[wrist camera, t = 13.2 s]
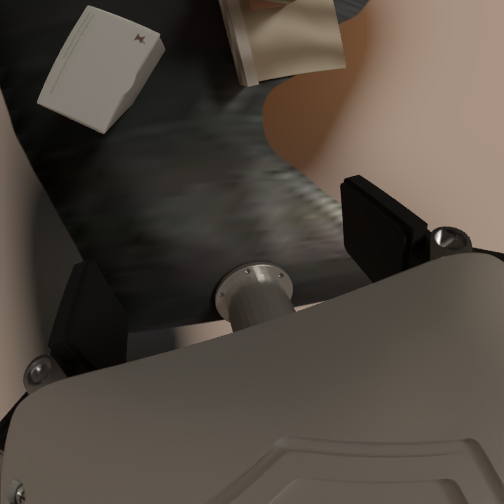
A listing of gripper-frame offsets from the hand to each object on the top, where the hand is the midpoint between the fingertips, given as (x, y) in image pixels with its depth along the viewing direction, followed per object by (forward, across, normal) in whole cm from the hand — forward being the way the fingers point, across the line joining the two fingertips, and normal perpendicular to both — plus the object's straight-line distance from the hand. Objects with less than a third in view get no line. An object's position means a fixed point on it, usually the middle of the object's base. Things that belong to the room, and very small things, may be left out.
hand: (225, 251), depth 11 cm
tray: (+28, -14, -12) cm, 34 cm away
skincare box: (+28, +5, -9) cm, 30 cm away
